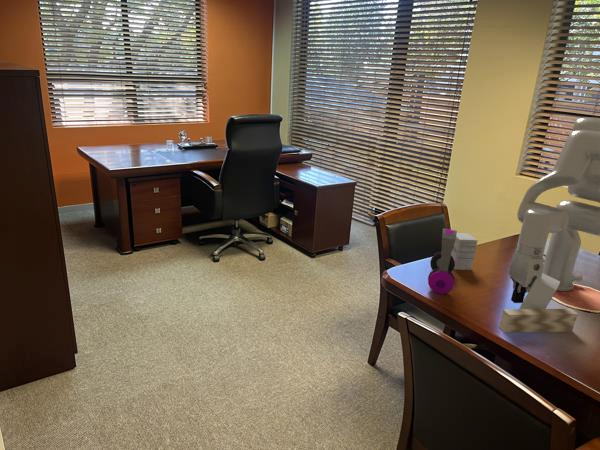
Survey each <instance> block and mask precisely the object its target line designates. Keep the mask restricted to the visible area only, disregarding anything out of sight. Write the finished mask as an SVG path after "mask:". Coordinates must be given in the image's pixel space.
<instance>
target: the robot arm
mask: <svg viewBox="0 0 600 450" xmlns="http://www.w3.org/2000/svg"><path fill="white" fill-rule="evenodd" d="M561 187H567V193H568V194H569V195H570V196H572V197H574V198H578V199H583V200H587V201H590V202H594V203H595V202H596V203H599V204H600V117H592V116H591V117H589V116H588V117H587V116H585V117H581V118H577V119H576V120H575V121H574V123H573V126H572V132H571V133H569V135H568V136H567V138H566V140H565V143H564V145H563V147H562V149H561V152H560V154H559V156H558V158H557V160H556V162H555V163H554V167H553V169H552V171H551V172H550V173H548V174H545V176H542V177H540V178H539V179H538V180H536V181H535V182H534V183H532V184H531V186H529V188H528V189H527V190H526V192H524V193H525V194H524V195H523V198H522V201H521V203H520V205H519V206H518V208H517V209H518V210H517V214H516V215H517V219H518V221H519V222H520V223H522V225H521V228H520V232H519V237H518V241H517V244H516V249H515V250H514V253H513V256H512V258H511V261H510V264H509V269H508V274H509V278H510V280H512V282H513V283H512V289H513V290H512V294H511V299H510V301H511V302H512V303H514V304H522V303H523V301H524V299H525V297H526V294H528V292H529V290H530V289H531V287H532V285H533V283H534V281H535V280H536V279H541V277H542V273H543V274H546V275H548V276H550V277H552V278H554V279H556V280H558V281H560V285H559V287H558V289H557V291H558V292H569V291H572V290H573V289H574V283H573V282H575V281H577V282H580V281H581V282H582V280H583V276H582V275H575V273H574V268H575V265H576V261H577V258H578V256H579V251H580V249H581V244H582V239H581V235H580V234H579V232H582V233H586V234H590V235H593V236H597V237H600V206H597V205H595V204H594V205H593V204H589V203H586V202H581V201H576V200H571V199H568V200H562V201H561V202H559V203H558V204H556V206H551V205H547V204H543V203H541V202H540V203H539V202H536V200H537V199H538V198H539V196H540V195H541V194H543V193H544V192H546V191H549V190H552V189H555V188H561ZM549 235H550V240H549V242H548V246H547V250H546V253H545V255H546V257H545V256H544V255H543V254H544V252H545V249H546V245H547V241H548V237H549ZM544 257H545V258H544Z"/></svg>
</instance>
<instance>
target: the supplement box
mask: <svg viewBox="0 0 600 450" xmlns="http://www.w3.org/2000/svg"><path fill="white" fill-rule="evenodd" d="M477 245H478V239H477V238H476V237H474V236H473V235H472V234H471V233H467V232H457V235H456V240H455V243H454V247H453V250H452V253H451V256H452V257H453V259H454V261H455V267H454V269H453V271H454V270H456V271H457V270H459V271H460V270H461V271H472V268H473V264H474V259H475V254H476V250H477Z"/></svg>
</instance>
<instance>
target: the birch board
mask: <svg viewBox="0 0 600 450" xmlns="http://www.w3.org/2000/svg"><path fill="white" fill-rule="evenodd" d="M577 318H578V313H577V312H576V311H574V310H573V309H572V308H546V309H519V308H518V309H516V308H515V309H514V308H512V309H511V308H510V309H509V308H508V309H507V308H506V309H502V312H501V317H500V322H499V325H498V327H499V328H500V330H501V331H502V332H503V333H549V332H550V333H553V332H557V333H558V332H559V333H560V332H561V333H562V332H564V333H565V332H573V330H574V326H575V323H576V320H577Z"/></svg>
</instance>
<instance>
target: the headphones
mask: <svg viewBox="0 0 600 450" xmlns="http://www.w3.org/2000/svg"><path fill="white" fill-rule="evenodd" d="M441 233H442V234H441V251H437V252H435V253H434V255H432V257H431V258H430V261H429V262H430V264H429V265H430V268H431V270H432V271H430V273H429V274H428V277H427V284H428V286H429V288H430V290H432V291H433V292H434V293H437V294H440V295H444V294H447V293H449V292H450V291H452V290H453V288H454V286H455V276H454V274H453V271H454V267H455V261H454V259H453V257H452V256H451V253H452V250H453V247H454V243H455V240H456V235H457V233H458V231H457V230H455V229H451V228H449V229H448V228H442V232H441Z"/></svg>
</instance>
